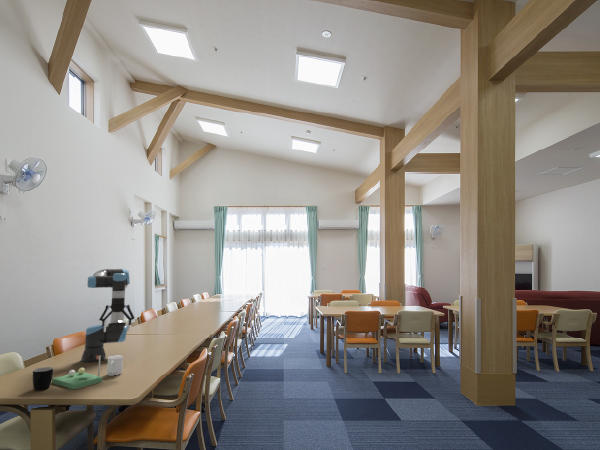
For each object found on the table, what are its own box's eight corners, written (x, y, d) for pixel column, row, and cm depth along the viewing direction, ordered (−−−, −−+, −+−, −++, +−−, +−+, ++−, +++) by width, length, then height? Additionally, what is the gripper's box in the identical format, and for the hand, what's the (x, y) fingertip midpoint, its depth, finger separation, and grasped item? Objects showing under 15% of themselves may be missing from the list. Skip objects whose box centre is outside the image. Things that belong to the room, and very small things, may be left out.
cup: (123, 371, 233) (124, 355, 234) (117, 377, 221) (118, 359, 222) (109, 372, 232) (110, 355, 233) (102, 378, 220) (103, 360, 221)
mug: (35, 386, 204) (36, 367, 205) (54, 385, 206) (55, 366, 207) (26, 394, 192) (27, 373, 193) (46, 392, 195) (47, 372, 196)
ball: (67, 376, 214) (67, 370, 215) (73, 375, 217) (73, 368, 218) (70, 377, 213) (70, 371, 213) (76, 375, 216) (76, 369, 216)
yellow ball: (76, 374, 219) (77, 368, 219) (82, 372, 222) (83, 366, 222) (80, 374, 217) (80, 368, 218) (85, 373, 220) (86, 367, 221)
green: (51, 383, 210) (53, 356, 212) (80, 375, 224) (82, 350, 226) (73, 389, 199) (75, 361, 201) (102, 381, 213) (103, 355, 215)
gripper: (95, 298, 233) (93, 333, 231) (138, 297, 240) (136, 331, 238) (98, 297, 241) (96, 331, 238) (140, 296, 248) (138, 329, 245)
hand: (116, 331), depth 238 cm, fingers open, 13 cm apart
